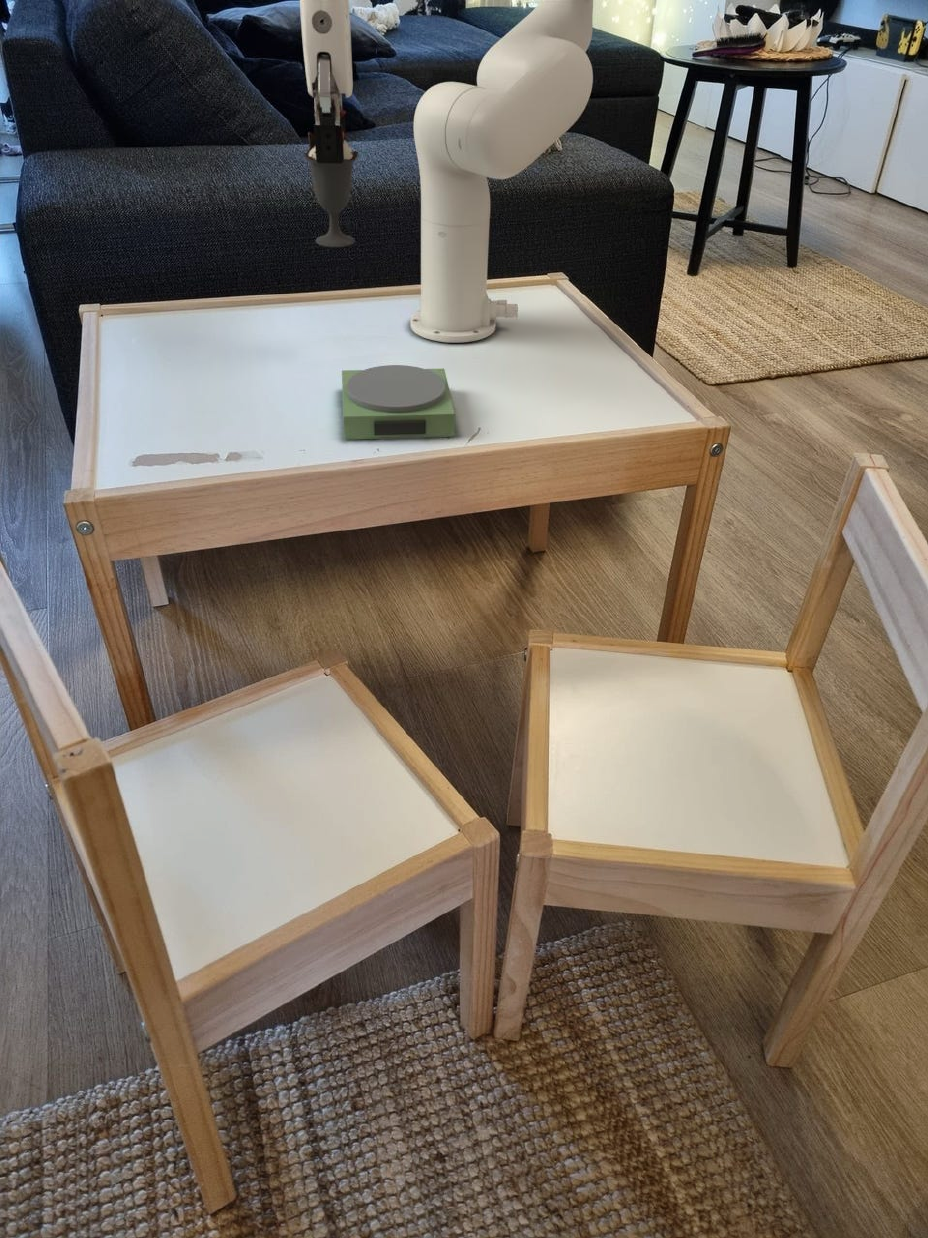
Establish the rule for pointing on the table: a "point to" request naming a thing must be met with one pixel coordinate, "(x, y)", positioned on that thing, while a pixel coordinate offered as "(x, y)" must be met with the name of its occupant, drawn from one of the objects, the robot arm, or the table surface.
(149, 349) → the table surface
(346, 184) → the sundae
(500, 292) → the table surface
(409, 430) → the scale
